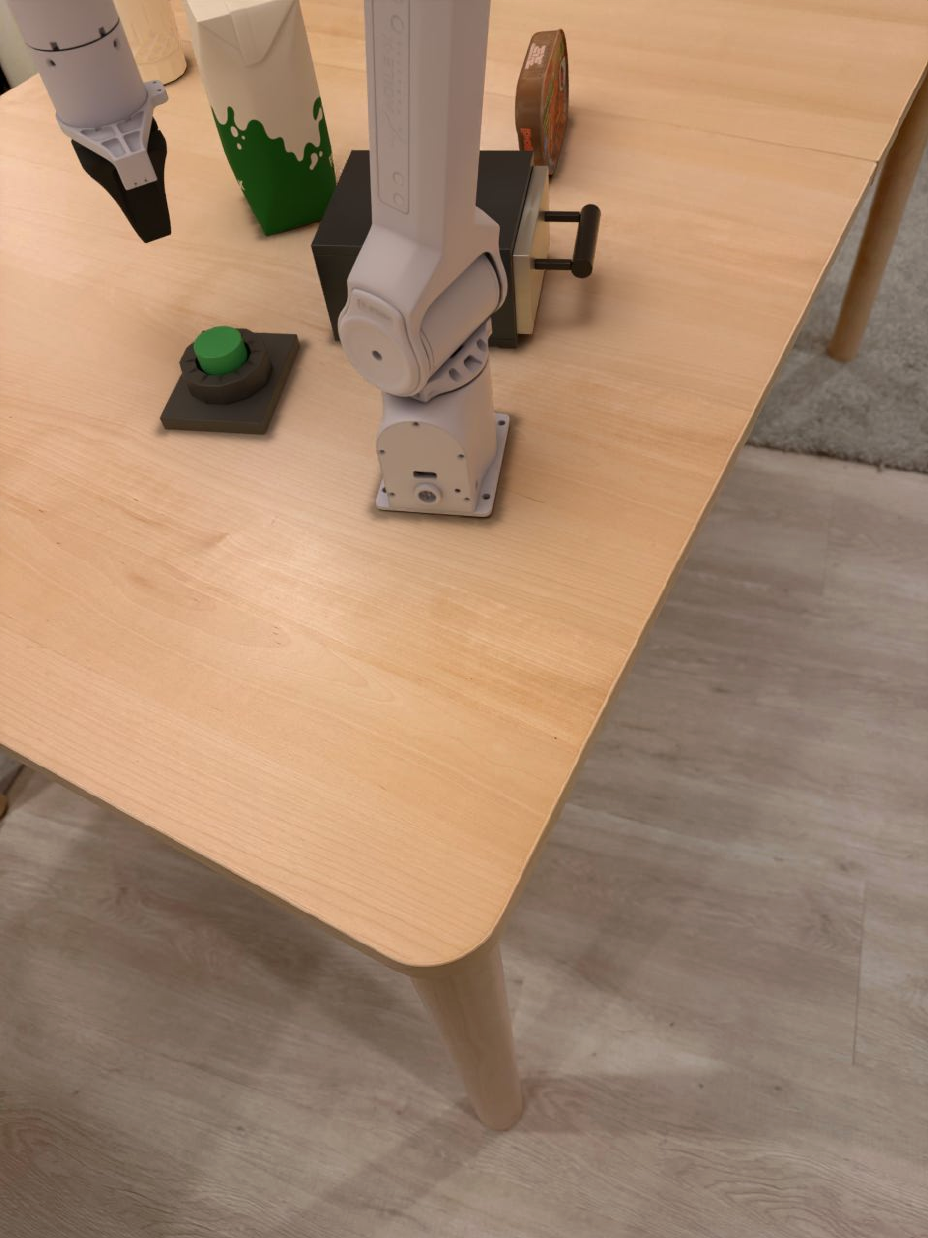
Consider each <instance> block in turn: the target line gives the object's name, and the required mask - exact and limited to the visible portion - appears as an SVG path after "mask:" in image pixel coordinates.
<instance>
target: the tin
mask: <svg viewBox="0 0 928 1238" xmlns="http://www.w3.org/2000/svg"><path fill="white" fill-rule="evenodd" d="M569 70H570V69H569V53H568V43H567V38H566V34H565V31H564V30H563V28H558V29H557V30H556V29H555V30H543V31H542V30H541V31H536V32H535V33H533V35H532V36H531V38H530V41H529V44H528V47H527V50H526V53H525V56H524V60H523V63H522V66H521V69H520V72H519V76H518V80H517V83H516V88H515V96H514V97H515V98H514V124H515V131H516V134H517V142H518V150H533V152H534V166H548V173H549V176H552V175H553V174H554V172H555V170H556V167H557V162H558V159H559V154H560V152H561V146H562V143H563V139H564V135H565V131H566V129H567V122H568V115H569V103H570V75H569V73H570V71H569Z"/></svg>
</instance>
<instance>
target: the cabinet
mask: <svg viewBox="0 0 928 1238" xmlns="http://www.w3.org/2000/svg"><path fill="white" fill-rule="evenodd" d="M533 166H534V152H533V150H519V149H518V150H517V149H516V150H513V149H512V150H508V149H507V150H505V149H503V150H502V149H498V150H497V149H496V150H494V149H493V150H491V149H483V150H482V149H481V150H480V151H479V164H478V177H477V191H476V204H475V206H476V207H478V208H480V209H481V210H483V211H484V212H485V213H486V214H487V215H488V216H489V217H491V218H492V219H493V220H494V221H495V222H496V223H497V224H498V225H499V227H500V231H499V253H500V258H501V261H502V264H503V266H504V269H505V272H506V277H507V295H506V298H505V301H504V302H503V304H502V306H501V307H500V308H499V309H498V310H497V311H496V312H494V313H493V314H492V315H490V317H491V325H492V334H491V335H490V336H489V338H488V348H501V349H502V348H504V349H516V348H517V346H518V340H519V336H520V334H517V329H516V311H515V294H514V276H513V259H512V251H513V247H514V243H515V238H516V234H517V230H518V229H519V225H520V220H521V216H522V212H523V207H524V203H525V199H526V194H527V190H528V186H529V181H530V177H531V173H532V168H533ZM336 184H337V185H336V188H335V190H334V192H333V195H332V197H331V199H330V202H329V204H328V206H327V209H326V211H325V213H324V216H323V218H322V220H320V223H319V225H318V227H317V230H316V233H315V234H314V237H313V239H312V241H311V244H310V248H311V252H312V256H313V260H314V264H315V267H316V271H317V275H318V279H319V283H320V287H321V291H322V295H323V299H324V303H325V307H326V310H327V314H328V318H329V322H330V326H331V330H332V334H333V339H334V341H335V342H341V341H340V337H339V333H338V319H339V316H340V313H341V312H342V310H343V309H344V307H345V306H346V303H347V299H348V285H347V280H348V277H349V274H350V272H351V270H352V267H353V265H354V263H355V261H356V259H357V257H358V255H359V252H360V250H361V248H362V246H363V244H364V242H365V240H366V238H367V236H368V233H369V231H370V229H371V226H372V201H371V175H370V149H351V150H350V152H349V155H348V157H347V160H346V162H345V164H344V167H343V169H342V171H341V174H340V176H339V178H338V180H337V182H336Z"/></svg>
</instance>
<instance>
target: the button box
mask: <svg viewBox="0 0 928 1238" xmlns="http://www.w3.org/2000/svg"><path fill="white" fill-rule="evenodd" d="M234 328H235V329H236V330H238V331H239V333H240V334H241V337H242V339H243V342H244V345H245V348H246V351H247V355H248V356H247V360H246V362H245V364H244V365H243V366H241V367H240V368H239V369H237V370H236V371H234V372H231V373H228V374H224V375H210V374H208V373H206V372H205V371H203V369H202V368H201V365H200V363H199V361H198V358H197V356H196V353H195V351H194V342H195V340H194V341H193V342H191V343H190V344H189V345H188V346H187V347H186V348H185V350H184V352H183V354H182V356H181V357H180V360H179V362H178V363H179V368H180V371H181V374H180V375H179V378H178V380H177V381H176V383H175V385H174V388H173V390H172V392H171V394H170V396H169V398H168V400H167V402H166V404H165V406H164V408H163V411H162V412H161V414H160V416H159V421H161V422H160V423H161V424H162V426H163V428H164V430H176V431H192V432H206V433H207V432H209V433H225V434H226V433H227V434H240V435H241V434H242V435H243V434H245V435H259V436H265V435H266V432H267V431H268V427H269V425H270V423H271V419H272V417H273V415H274V412H275V410H276V408H277V406H278V402H279V400H280V397H281V395H282V392H283V390H284V388H285V385H286V382H287V380H288V377H289V375H290V372H291V370H292V368H293V365H294V362H295V360H296V358H297V355H298V352H299V350H300V347H301V342H300V341H299V337H298V334H297V333H282V332H281V333H280V332H279V333H277V332H276V333H275V332H254V331H252V330H250V329H248V328H243V327H242V328H241V327H240V328H239V327H234ZM204 331H205V330H202V331H201V333H203V332H204Z"/></svg>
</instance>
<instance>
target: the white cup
mask: <svg viewBox="0 0 928 1238" xmlns="http://www.w3.org/2000/svg"><path fill="white" fill-rule="evenodd" d="M113 1H114V4H115V7H116V9H117V12H118V15H119V17H120V20H121V23H122V26H123V28H124V31H125V34H126V37H127V39H128V42H129V45H130V48H131V50H132V53H133V56H134V59H135V61H136V64H137V67H138V69H139V72H140V75H141V78H142V80H143V83H144V82H148V81H152V80H159V81H161V83H162V84H163V86H164V85H167V84H169V83H171V82H173V81H176V80H177V79H178V78H180V77H181V76H182V75H183V74H184V73H185V71H186V69H187V68H188V67H187V62H186V57H185V54H184V51H183V48H182V44H181V39H180V37H181V36H180V33H179V28H178V25H177V20H176V17H175V12H174V9H173V6H172V2H171V0H113Z"/></svg>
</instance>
